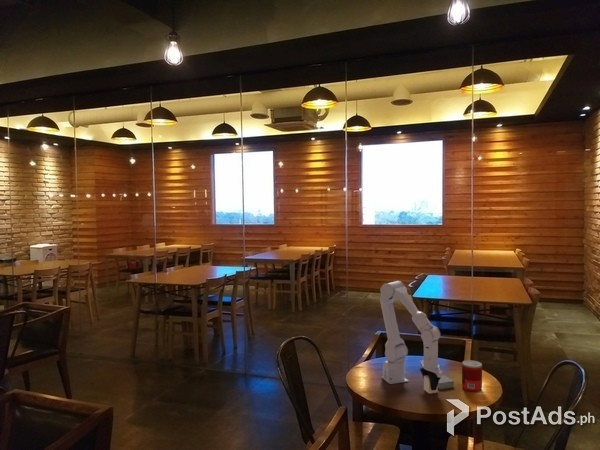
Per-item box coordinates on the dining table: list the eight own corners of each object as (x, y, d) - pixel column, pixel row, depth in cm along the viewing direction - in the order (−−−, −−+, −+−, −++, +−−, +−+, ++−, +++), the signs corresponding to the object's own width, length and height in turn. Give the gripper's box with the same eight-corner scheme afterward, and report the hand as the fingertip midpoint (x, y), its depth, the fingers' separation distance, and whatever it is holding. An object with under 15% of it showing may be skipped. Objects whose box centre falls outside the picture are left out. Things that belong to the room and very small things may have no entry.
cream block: (428, 393, 183) (429, 379, 183) (423, 389, 187) (423, 375, 187) (437, 392, 184) (437, 378, 184) (432, 388, 188) (432, 374, 188)
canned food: (485, 391, 185) (486, 365, 184) (469, 393, 183) (469, 367, 182) (473, 383, 192) (474, 359, 192) (458, 386, 190) (458, 361, 189)
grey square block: (439, 390, 187) (439, 383, 187) (430, 383, 194) (430, 377, 194) (453, 387, 189) (453, 381, 189) (443, 381, 196) (443, 375, 196)
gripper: (449, 360, 179) (449, 393, 180) (429, 349, 193) (429, 379, 194) (433, 362, 177) (433, 395, 178) (415, 351, 191) (415, 381, 192)
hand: (430, 387), depth 186 cm, fingers closed on cream block, 4 cm apart
